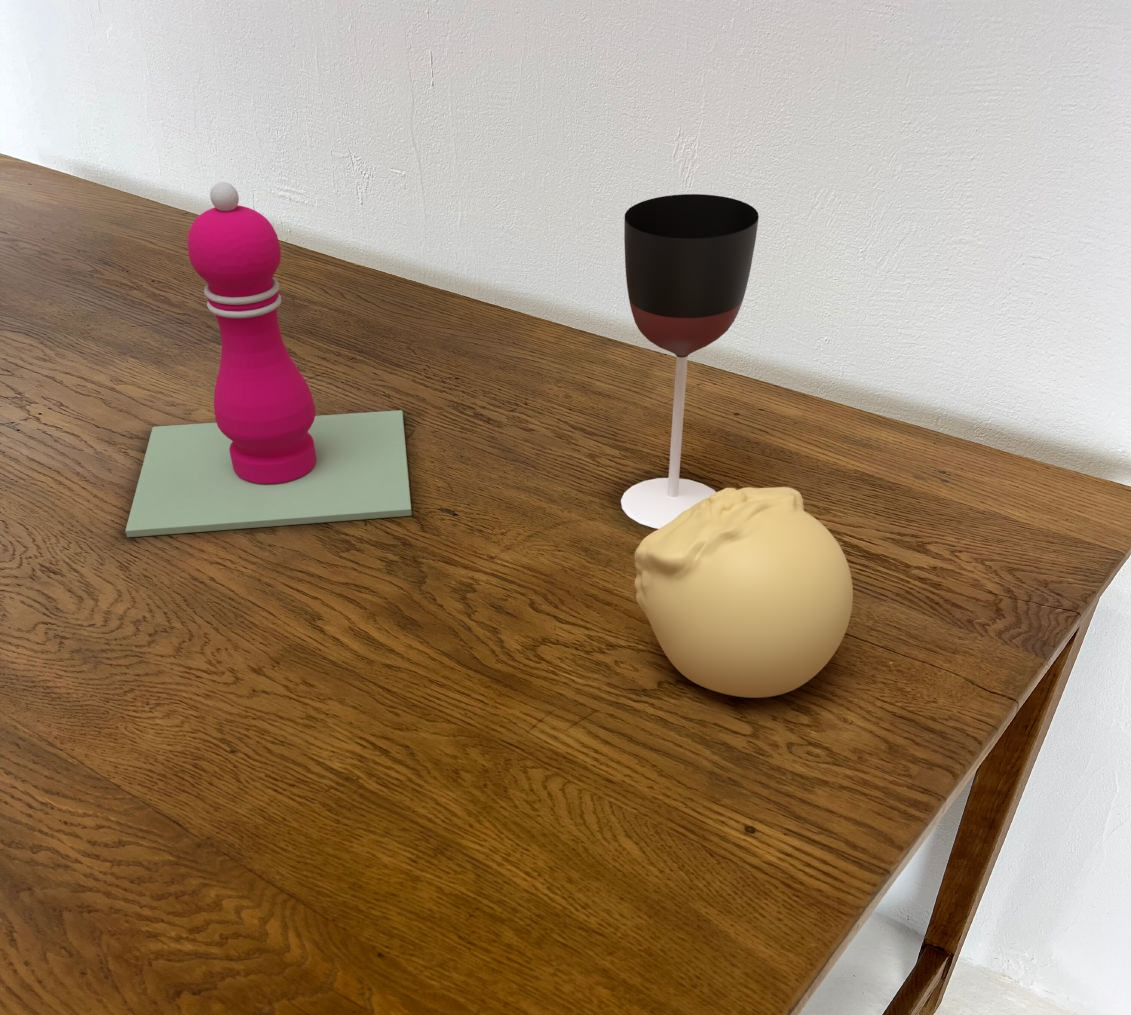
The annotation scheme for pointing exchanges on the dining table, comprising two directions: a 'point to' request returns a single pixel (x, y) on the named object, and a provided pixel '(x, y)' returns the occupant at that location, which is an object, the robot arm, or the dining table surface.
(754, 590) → the sculpture
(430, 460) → the dining table surface
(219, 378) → the pepper mill
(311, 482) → the placemat
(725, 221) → the wineglass
